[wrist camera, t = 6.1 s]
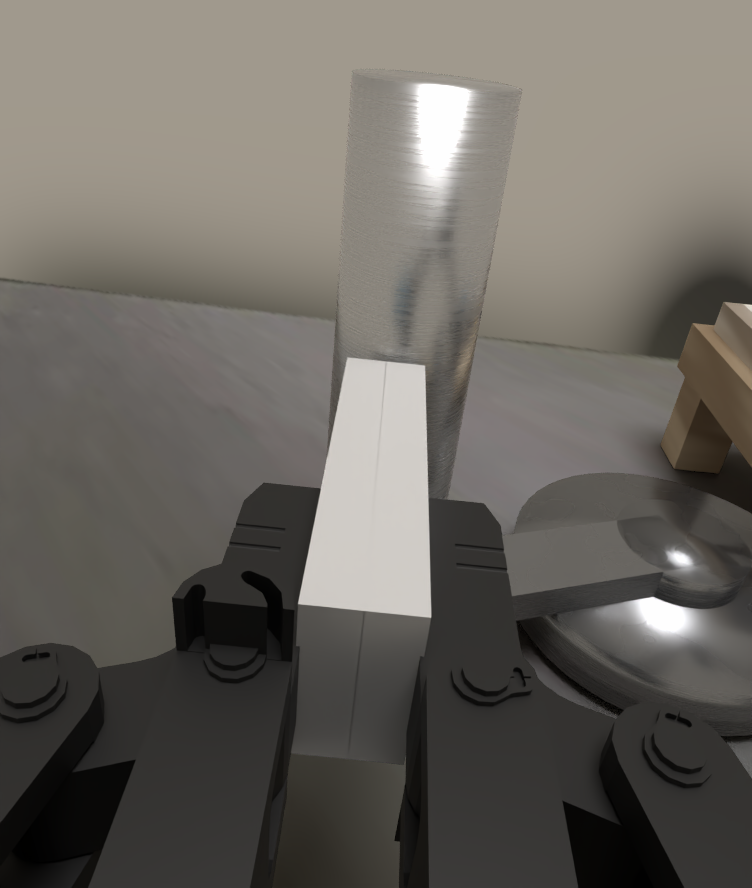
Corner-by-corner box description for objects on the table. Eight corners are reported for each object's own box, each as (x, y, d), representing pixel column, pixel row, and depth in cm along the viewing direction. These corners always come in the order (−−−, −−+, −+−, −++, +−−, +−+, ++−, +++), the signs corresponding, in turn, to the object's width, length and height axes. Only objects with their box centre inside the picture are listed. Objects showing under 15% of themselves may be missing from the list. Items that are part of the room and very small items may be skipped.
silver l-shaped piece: (683, 496, 28) (844, 97, 21) (902, 697, 20) (1297, 171, 13) (282, 546, 24) (296, 49, 16) (364, 835, 16) (474, 120, 8)
